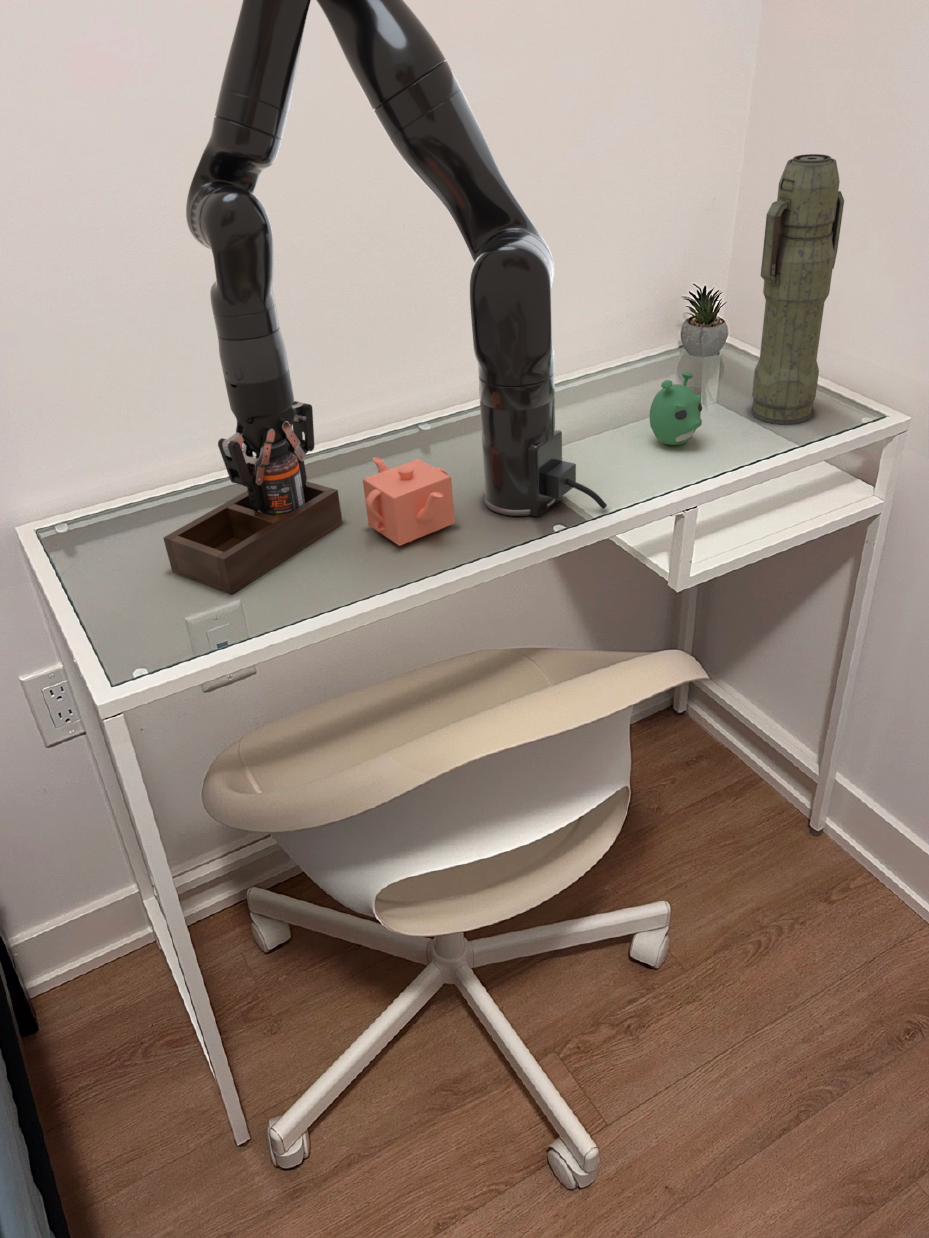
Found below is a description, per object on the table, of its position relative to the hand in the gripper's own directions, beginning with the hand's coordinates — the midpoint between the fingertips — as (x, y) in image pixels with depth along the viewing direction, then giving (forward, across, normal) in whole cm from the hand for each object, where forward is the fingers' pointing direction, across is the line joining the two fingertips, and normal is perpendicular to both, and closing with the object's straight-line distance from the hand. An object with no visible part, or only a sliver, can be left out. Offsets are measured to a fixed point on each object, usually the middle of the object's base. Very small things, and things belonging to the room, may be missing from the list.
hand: (280, 498), depth 126 cm
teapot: (+5, -8, +14) cm, 17 cm away
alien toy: (+5, -46, +32) cm, 56 cm away
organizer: (+5, +5, 0) cm, 7 cm away
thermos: (+5, -63, +41) cm, 76 cm away
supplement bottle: (+4, 0, 0) cm, 4 cm away
